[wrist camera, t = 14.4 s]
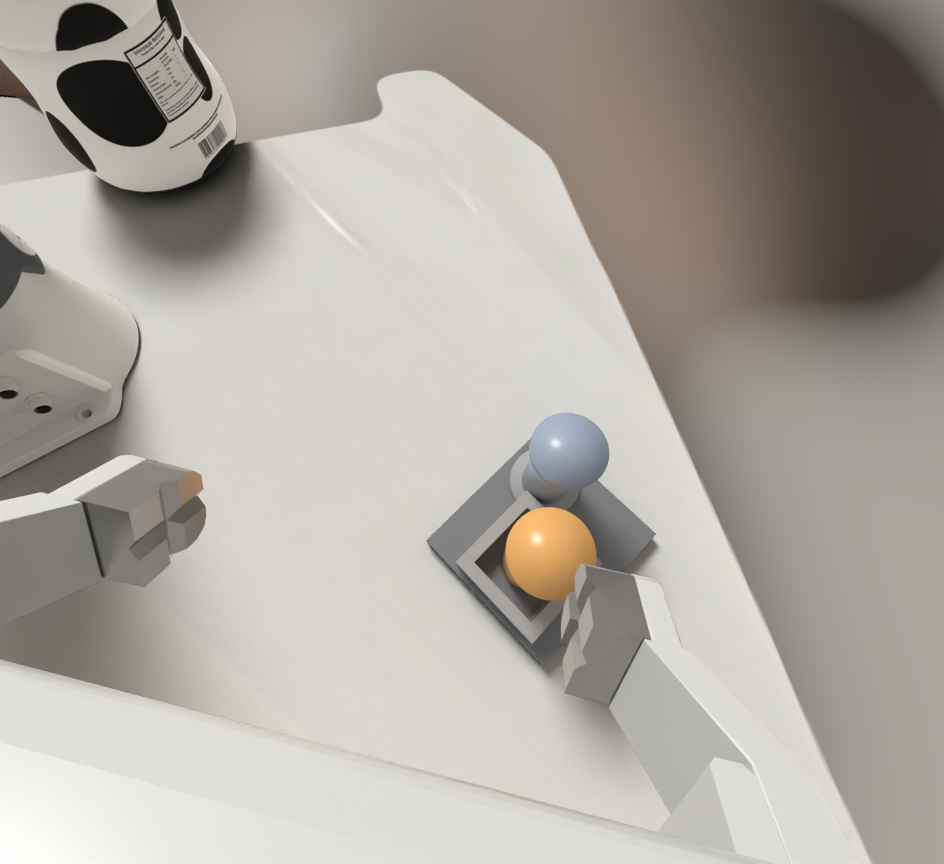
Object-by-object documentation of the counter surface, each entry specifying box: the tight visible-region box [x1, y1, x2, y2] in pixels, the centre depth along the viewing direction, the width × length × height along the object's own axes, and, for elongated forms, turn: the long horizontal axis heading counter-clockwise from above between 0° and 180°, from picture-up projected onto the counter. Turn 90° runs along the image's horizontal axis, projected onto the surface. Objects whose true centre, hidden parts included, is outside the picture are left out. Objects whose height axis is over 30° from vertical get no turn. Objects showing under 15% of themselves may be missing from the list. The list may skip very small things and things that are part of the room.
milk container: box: [0, 0, 237, 193], centre depth 43 cm, size 17×17×18 cm
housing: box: [426, 413, 656, 666], centre depth 32 cm, size 14×13×11 cm
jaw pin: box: [501, 507, 596, 601], centre depth 30 cm, size 5×5×11 cm
